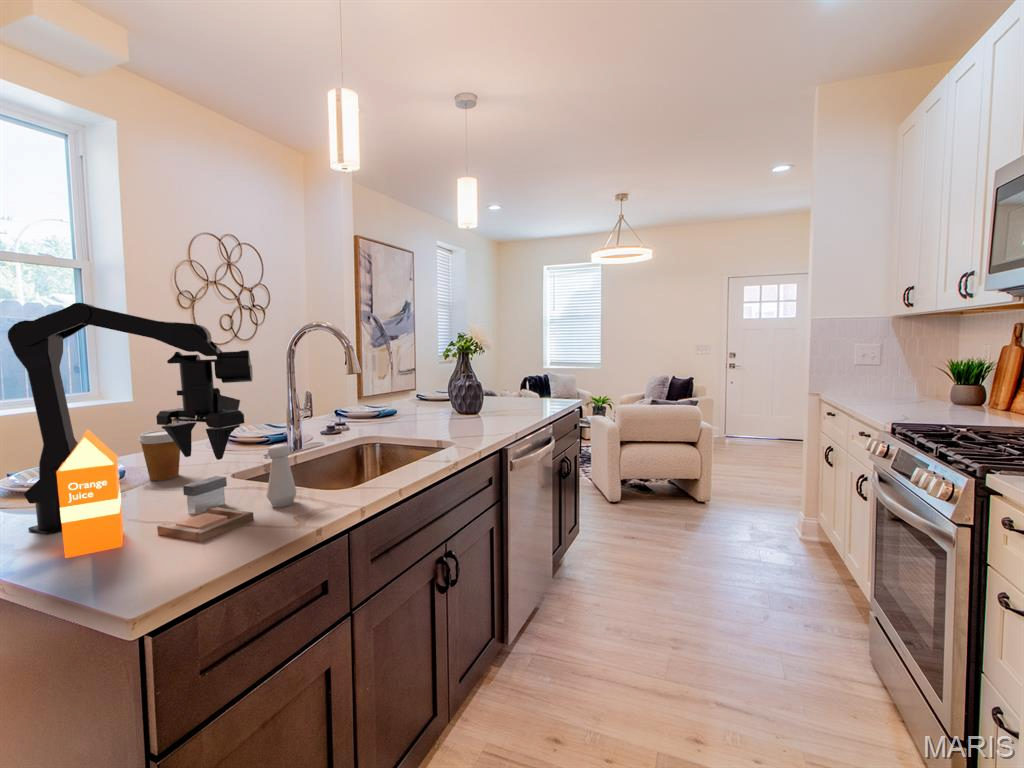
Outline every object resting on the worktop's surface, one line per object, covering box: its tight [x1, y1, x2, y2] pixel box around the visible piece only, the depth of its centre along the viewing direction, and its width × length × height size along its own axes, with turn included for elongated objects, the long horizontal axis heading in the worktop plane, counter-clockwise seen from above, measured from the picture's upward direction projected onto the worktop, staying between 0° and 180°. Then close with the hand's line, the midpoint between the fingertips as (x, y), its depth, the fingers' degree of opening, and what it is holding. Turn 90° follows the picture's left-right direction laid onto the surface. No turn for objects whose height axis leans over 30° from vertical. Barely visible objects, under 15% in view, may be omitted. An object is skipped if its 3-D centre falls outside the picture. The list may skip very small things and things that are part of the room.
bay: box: [156, 507, 255, 543], centre depth 96 cm, size 11×11×2 cm
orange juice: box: [56, 429, 125, 559], centre depth 88 cm, size 8×9×20 cm
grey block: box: [182, 475, 228, 516], centre depth 107 cm, size 3×8×6 cm, turn 160°
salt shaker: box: [266, 443, 297, 508], centre depth 109 cm, size 6×6×13 cm
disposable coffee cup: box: [138, 429, 181, 481], centre depth 133 cm, size 10×10×12 cm
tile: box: [175, 512, 228, 530], centre depth 97 cm, size 6×6×2 cm
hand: (203, 458), depth 107 cm, fingers open, 9 cm apart
